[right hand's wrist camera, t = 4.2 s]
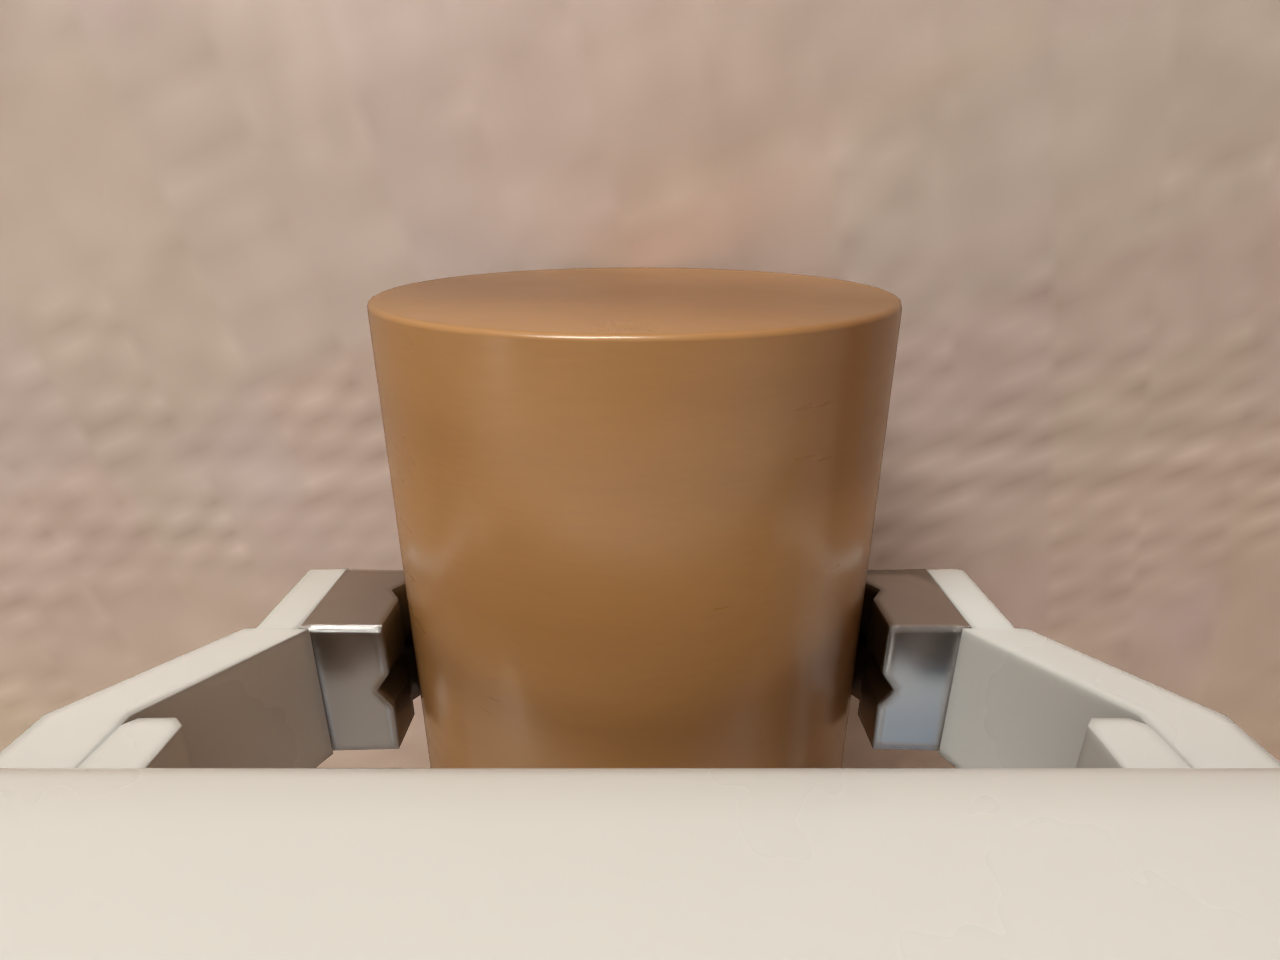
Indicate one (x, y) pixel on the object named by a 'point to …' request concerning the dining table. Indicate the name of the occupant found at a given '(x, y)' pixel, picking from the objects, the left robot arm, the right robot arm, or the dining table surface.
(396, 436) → the cylinder
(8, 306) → the dining table surface
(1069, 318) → the dining table surface
